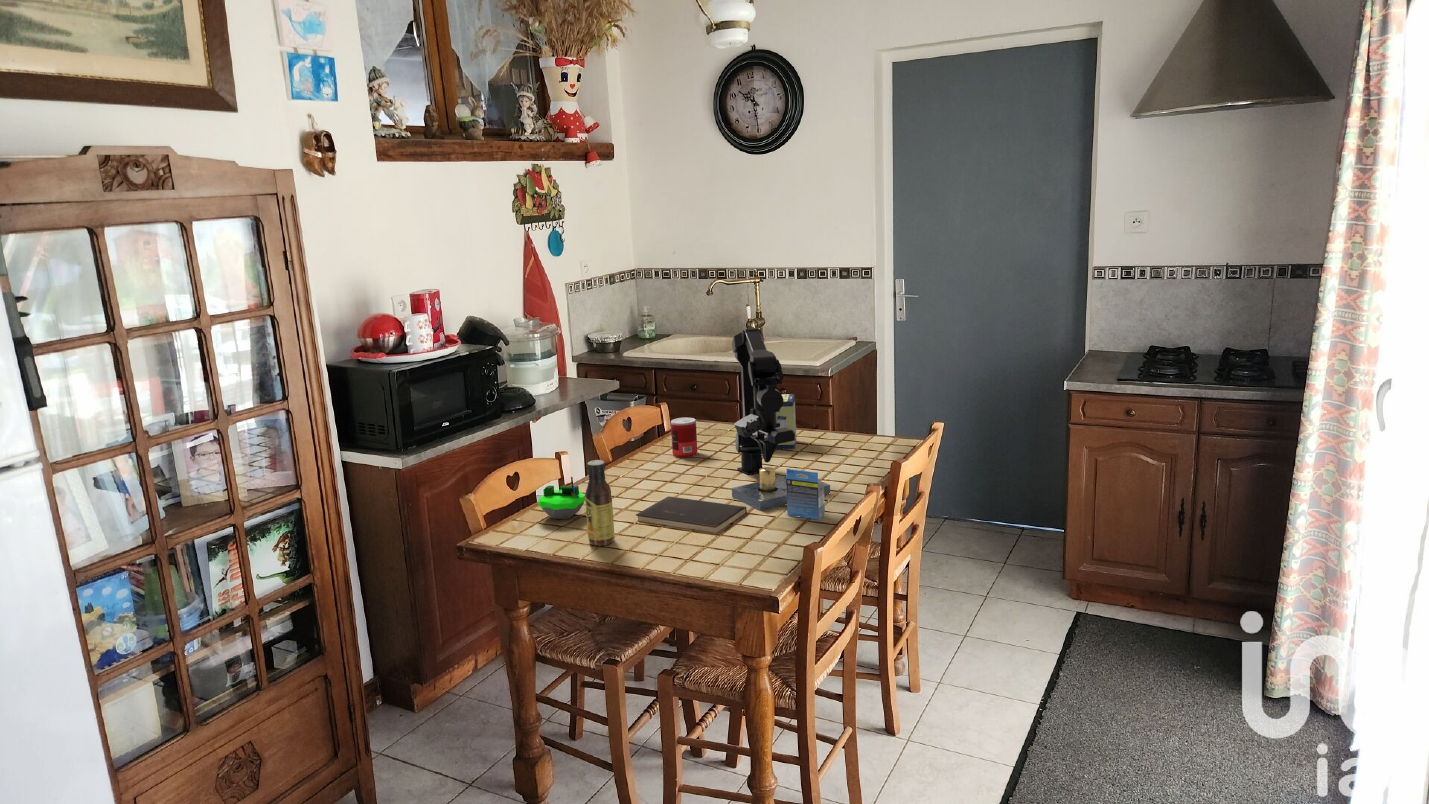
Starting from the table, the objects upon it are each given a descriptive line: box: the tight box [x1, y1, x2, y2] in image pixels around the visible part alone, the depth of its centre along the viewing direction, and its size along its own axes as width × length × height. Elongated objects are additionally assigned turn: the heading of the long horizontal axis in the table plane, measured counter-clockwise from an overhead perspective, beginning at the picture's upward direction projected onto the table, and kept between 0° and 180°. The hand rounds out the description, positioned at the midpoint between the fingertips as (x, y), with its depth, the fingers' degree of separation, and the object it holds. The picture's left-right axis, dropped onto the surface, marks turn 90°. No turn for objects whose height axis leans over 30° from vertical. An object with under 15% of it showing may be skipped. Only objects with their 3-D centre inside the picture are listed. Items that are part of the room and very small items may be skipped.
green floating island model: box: [537, 476, 585, 520], centre depth 241 cm, size 12×12×11 cm
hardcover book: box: [635, 495, 747, 534], centre depth 238 cm, size 16×23×2 cm
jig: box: [731, 474, 831, 511], centre depth 251 cm, size 14×22×3 cm, turn 120°
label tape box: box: [785, 468, 826, 521], centre depth 233 cm, size 9×4×12 cm, turn 60°
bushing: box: [759, 466, 776, 493], centre depth 248 cm, size 4×4×8 cm
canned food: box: [670, 416, 698, 459], centre depth 293 cm, size 8×8×11 cm
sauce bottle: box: [584, 459, 615, 547], centre depth 221 cm, size 7×6×20 cm
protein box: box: [775, 393, 797, 450], centre depth 299 cm, size 10×16×16 cm
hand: (767, 462), depth 247 cm, fingers closed
